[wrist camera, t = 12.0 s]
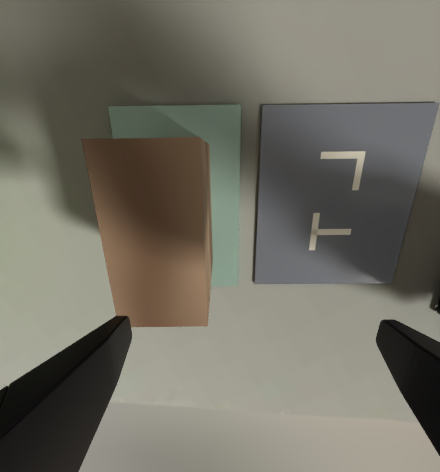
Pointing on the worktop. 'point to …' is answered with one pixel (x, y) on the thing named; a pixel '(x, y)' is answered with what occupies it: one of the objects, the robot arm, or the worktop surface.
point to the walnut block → (155, 226)
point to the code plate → (337, 190)
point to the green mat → (221, 164)
